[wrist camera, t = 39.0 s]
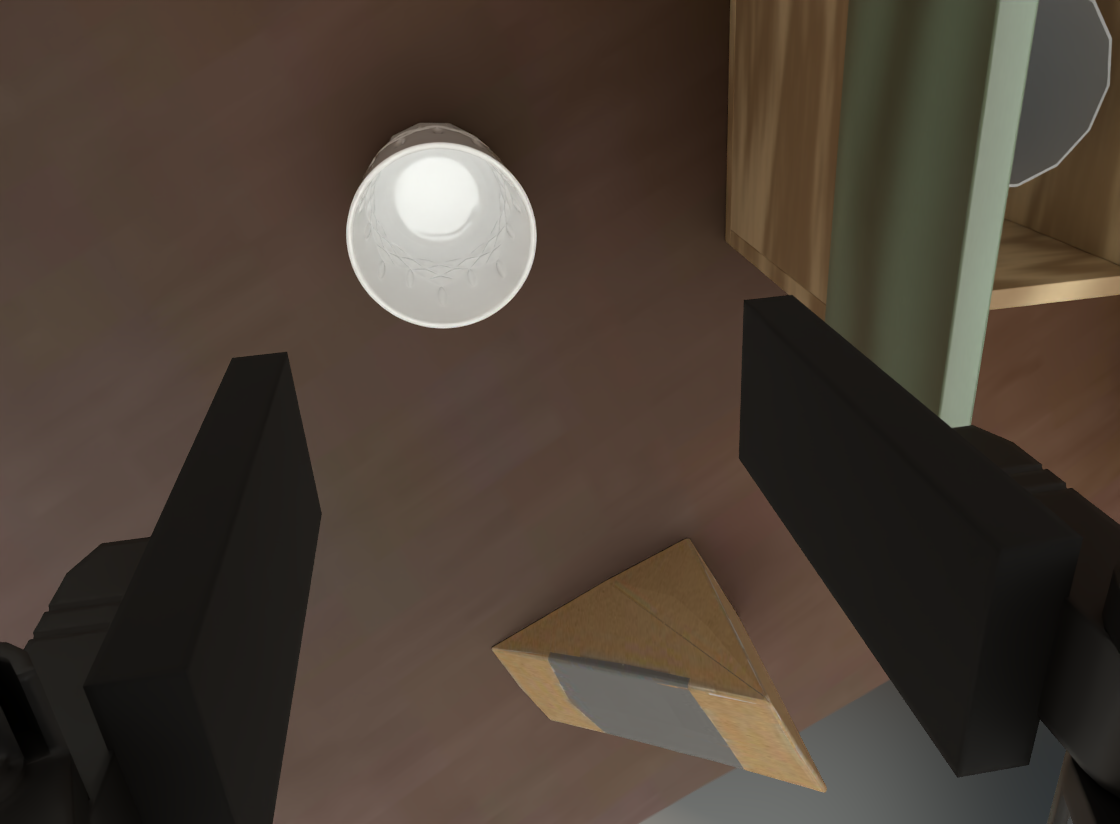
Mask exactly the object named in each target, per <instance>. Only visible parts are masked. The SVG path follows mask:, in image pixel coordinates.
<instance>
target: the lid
mask: <svg viewBox="0 0 1120 824" xmlns="http://www.w3.org/2000/svg"><path fill="white" fill-rule="evenodd" d="M1038 4H1039V0H849V4H848V18H847V31H846V45H845V58H844V71H843V85H842V98H841V112H840V125H839V138H838V152H837V165H836V179H835V192H834V205H833V219H832V232H831V246H830V259H829V272H828V286H827V299H826V312H825V323H827V324H828V325H829V326H830V327H831V328H833V329H834V330H835V331H836V332H837V333H839V334H840V335H841V336H842V337H843V338H845V339H846V340H847V341H848V342H849V343H851V344H852V345H853V346H854V347H855V348H857V349H858V350H859V351H860V352H861V353H863V354H864V355H865V356H866V357H867V358H869V359H870V360H871V361H872V362H873V363H875V364H876V365H877V366H878V367H879V368H881V369H882V370H883V371H884V372H885V373H887V374H888V375H889V376H890V377H891V378H893V379H894V380H895V381H896V382H897V383H899V384H900V385H901V386H902V387H903V388H905V389H906V390H907V391H908V392H909V393H911V394H912V395H913V396H914V397H915V398H917V399H918V400H919V401H920V402H921V403H923V404H924V405H925V406H926V407H927V408H929V409H930V410H931V411H932V412H933V413H935V414H936V415H937V416H938V417H939V418H941V419H942V420H943V421H944V422H945V423H947V424H948V425H949V426H950V427H951V428H954V427H962V426H969V425H971V420H972V414H973V408H974V402H975V396H976V389H977V383H978V377H979V371H980V364H981V358H982V352H983V346H984V340H985V333H986V327H987V321H988V315H989V309H990V302H991V296H992V290H993V284H994V277H995V271H996V265H997V259H998V253H999V246H1000V240H1001V234H1002V228H1003V221H1004V215H1005V209H1006V203H1007V197H1008V190H1009V184H1010V178H1011V172H1012V166H1013V159H1014V153H1015V147H1016V141H1017V134H1018V128H1019V122H1020V116H1021V110H1022V103H1023V97H1024V91H1025V85H1026V79H1027V72H1028V66H1029V60H1030V54H1031V47H1032V41H1033V35H1034V29H1035V23H1036V16H1037V10H1038Z"/></svg>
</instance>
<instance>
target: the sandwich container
mask: <svg viewBox="0 0 1120 824" xmlns="http://www.w3.org/2000/svg"><path fill="white" fill-rule="evenodd" d="M492 650H493V652H494V653H495V655H496V656H497V657H498V659H499V660H500V661H501V663H502V664H503V665H504V666H505V668H506V669H507V670H508V672H509V673H510V674H511V676H512V677H513V678H514V680H515V681H516V682H517V684H518V685H519V686H520V688H521V689H522V690H523V691H524V692H525V693H526V694H527V695H528V696H529V697H530V698H531V699H532V700H533V702H534V703H535V704H536V705H537V706H538V707H539V708H540V709H541V710H542V711H543V712H544V713H545V714H546V716H547V717H548V718H549V719H550V720H553V721H558V722H562V723H566V724H570V725H574V726H579V727H583V728H587V729H591V730H595V731H599V732H603V733H608V734H611V735H615V736H619V737H623V738H627V739H631V740H635V741H639V742H643V743H647V744H651V745H654V746H658V747H662V748H665V749H669V750H673V751H676V752H680V753H684V754H688V755H692V756H696V757H700V758H704V759H708V760H712V761H715V762H719V763H723V764H726V765H730V766H733V767H737V768H740V769H744V770H747V771H751V772H754V773H758V774H761V775H765V776H769V777H772V778H775V779H779V780H782V781H786V782H789V783H793V784H796V785H800V786H803V787H807V788H811V789H814V790H817V791H820V792H826V790H827V788H826V785H825V783H824V781H823V779H822V777H821V776H820V773H819V772H818V770H817V768H816V766H815V764H814V762H813V760H812V758H811V756H810V754H809V752H808V750H807V748H806V747H805V744H804V742H803V741H802V739H801V737H800V735H799V733H798V731H797V729H796V727H795V725H794V723H793V721H792V719H791V717H790V715H789V713H788V711H787V710H786V708H785V706H784V704H783V702H782V700H781V698H780V696H779V694H778V692H777V690H776V688H775V686H774V684H773V682H772V680H771V678H770V677H769V675H768V673H767V671H766V669H765V667H764V665H763V663H762V661H761V659H760V657H759V655H758V653H757V651H756V649H755V648H754V646H753V644H752V642H751V640H750V638H749V636H748V634H747V632H746V630H745V628H744V626H743V624H742V622H741V621H740V619H739V617H738V615H737V613H736V612H735V610H734V609H733V607H732V605H731V604H730V602H729V601H728V599H727V597H726V596H725V594H724V593H723V591H722V589H721V588H720V586H719V584H718V583H717V581H716V579H715V578H714V576H713V575H712V573H711V572H710V570H709V568H708V567H707V565H706V564H705V562H704V561H703V559H702V558H701V556H700V554H699V553H698V551H697V550H696V548H695V546H694V545H693V543H692V542H691V540H690V539H684V540H682V541H681V542H679V543H677V544H675V545H673V546H671V547H669V548H667V549H665V550H663V551H662V552H660V553H658V554H656V555H654V556H652V557H650V558H648V559H646V560H645V561H643V562H641V563H639V564H637V565H635V566H633V567H631V568H629V569H628V570H626V571H624V572H622V573H620V574H618V575H616V576H614V577H612V578H611V579H609V580H607V581H605V582H603V583H602V584H600V585H598V586H596V587H595V588H593V589H591V590H590V591H588V592H586V593H584V594H583V595H581V596H579V597H578V598H576V599H574V600H572V601H571V602H569V603H567V604H566V605H564V606H562V607H561V608H559V609H557V610H555V611H554V612H552V613H550V614H549V615H547V616H545V617H543V618H542V619H540V620H538V621H537V622H535V623H533V624H532V625H530V626H528V627H526V628H525V629H523V630H521V631H520V632H518V633H516V634H514V635H513V636H511V637H509V638H508V639H506V640H504V641H502V642H501V643H499V644H497V645H496V646H494V647H492Z"/></svg>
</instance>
